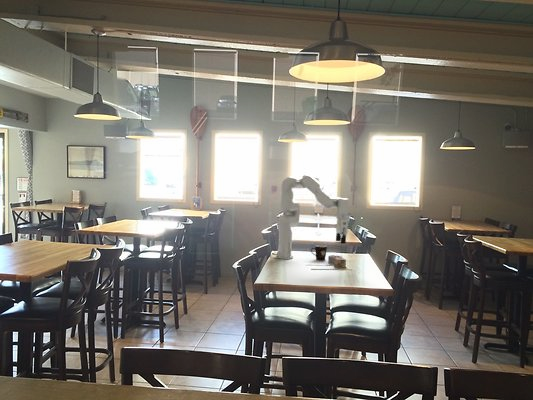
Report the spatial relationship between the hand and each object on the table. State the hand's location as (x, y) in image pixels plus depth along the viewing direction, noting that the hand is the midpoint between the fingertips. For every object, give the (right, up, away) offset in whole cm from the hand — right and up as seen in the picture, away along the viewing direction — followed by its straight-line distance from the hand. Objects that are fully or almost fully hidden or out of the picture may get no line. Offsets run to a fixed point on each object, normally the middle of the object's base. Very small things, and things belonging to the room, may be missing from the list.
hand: (340, 242), depth 293 cm
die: (-1, -17, +1) cm, 17 cm away
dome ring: (-1, -16, +15) cm, 22 cm away
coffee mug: (-12, -16, +27) cm, 33 cm away
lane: (-9, -17, -1) cm, 19 cm away
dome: (-1, -16, +15) cm, 22 cm away
